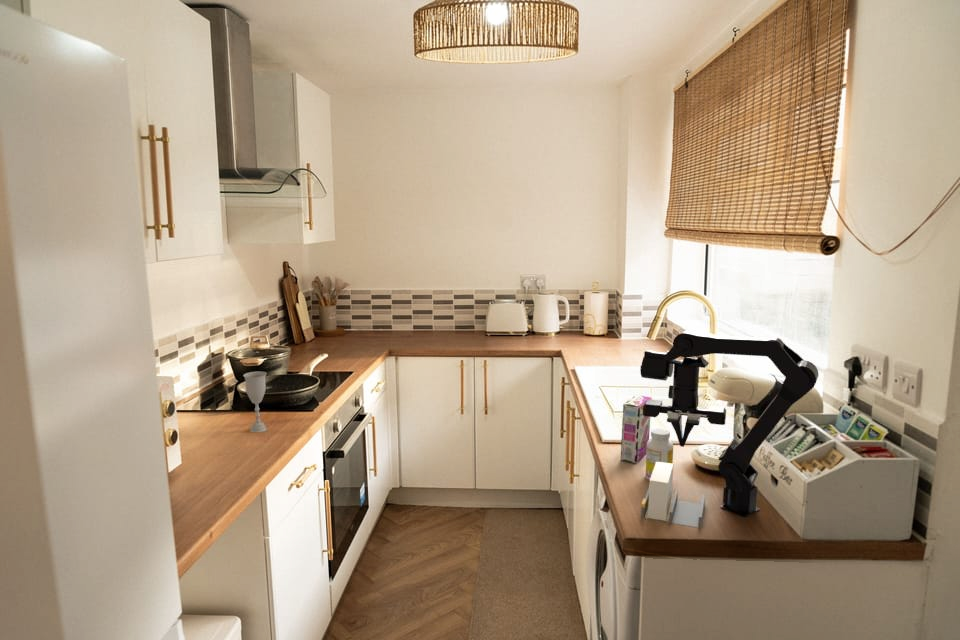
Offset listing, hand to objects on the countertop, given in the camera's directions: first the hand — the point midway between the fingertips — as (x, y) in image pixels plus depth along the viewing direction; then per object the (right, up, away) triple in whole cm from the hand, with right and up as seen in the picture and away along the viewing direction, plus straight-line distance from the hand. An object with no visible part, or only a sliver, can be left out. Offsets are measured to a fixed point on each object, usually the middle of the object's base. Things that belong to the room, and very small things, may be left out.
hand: (682, 446), depth 164 cm
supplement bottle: (-2, -11, +13) cm, 17 cm away
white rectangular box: (-7, -14, -5) cm, 16 cm away
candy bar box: (-5, -8, +29) cm, 30 cm away
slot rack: (-4, -14, -6) cm, 16 cm away
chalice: (-118, -4, +50) cm, 129 cm away
